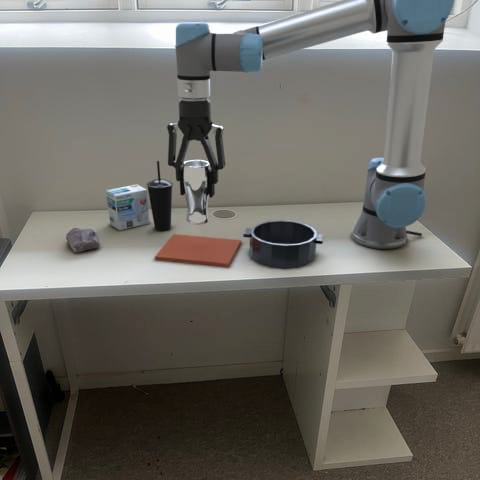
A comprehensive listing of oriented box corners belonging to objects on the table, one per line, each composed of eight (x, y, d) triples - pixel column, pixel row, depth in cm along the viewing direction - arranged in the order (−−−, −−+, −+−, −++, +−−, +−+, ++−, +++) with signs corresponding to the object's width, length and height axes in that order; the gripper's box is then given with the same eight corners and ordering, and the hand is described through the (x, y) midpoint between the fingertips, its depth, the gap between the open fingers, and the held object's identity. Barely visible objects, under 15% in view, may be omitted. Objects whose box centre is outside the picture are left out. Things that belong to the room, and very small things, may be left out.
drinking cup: (171, 233, 150) (166, 165, 139) (146, 231, 151) (140, 163, 140) (178, 224, 156) (175, 158, 145) (155, 222, 157) (149, 157, 147)
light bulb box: (119, 231, 151) (115, 195, 145) (109, 224, 155) (104, 190, 150) (150, 223, 157) (147, 189, 151) (140, 217, 161) (136, 183, 155)
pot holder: (241, 243, 144) (241, 240, 143) (228, 267, 131) (228, 263, 130) (174, 237, 147) (173, 233, 147) (155, 259, 134) (154, 256, 134)
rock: (91, 235, 148) (89, 220, 145) (103, 250, 139) (101, 234, 137) (63, 241, 144) (60, 226, 142) (74, 256, 136) (71, 240, 133)
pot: (323, 245, 143) (325, 223, 140) (318, 272, 129) (321, 248, 125) (250, 238, 147) (251, 217, 143) (238, 264, 132) (238, 241, 129)
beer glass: (187, 226, 131) (184, 168, 123) (183, 216, 136) (180, 160, 128) (213, 224, 132) (212, 166, 124) (208, 214, 138) (207, 159, 130)
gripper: (148, 99, 117) (156, 196, 129) (232, 103, 114) (231, 202, 126) (159, 94, 123) (165, 187, 136) (239, 98, 120) (238, 193, 132)
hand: (197, 194), depth 131 cm, fingers closed on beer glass, 7 cm apart
